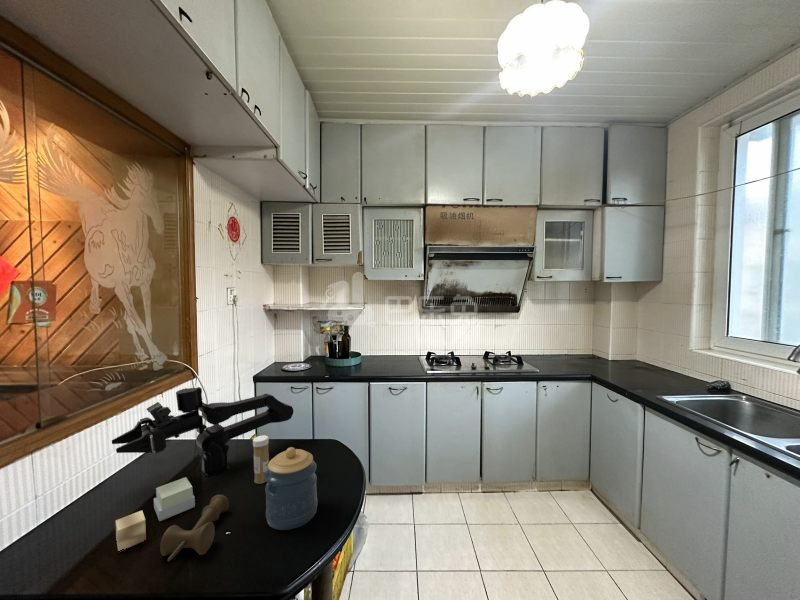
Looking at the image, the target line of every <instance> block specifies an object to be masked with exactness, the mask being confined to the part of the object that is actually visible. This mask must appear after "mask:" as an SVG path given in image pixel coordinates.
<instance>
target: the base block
mask: <svg viewBox="0 0 800 600" xmlns="http://www.w3.org/2000/svg"><path fill="white" fill-rule="evenodd" d="M195 501H196V499H195V495H194V494H193V498H190V499H188V500H185V501H183V502H180V503H178V504H175V505H173V506H170V507H168V508H166V509H163V510H162V509H161V507H160V505H159V503H158V501H157V497H154V498H153V508H154V511H155V513H156V516H157V518H158V521H159V522H161V521H164V520H166V519H169V518H171V517H173V516H177V515H178V514H181V513H183V512H186V511H188V510H190V509H192V508H195V507H196V502H195Z"/></svg>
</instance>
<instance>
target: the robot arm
mask: <svg viewBox="0 0 800 600" xmlns="http://www.w3.org/2000/svg"><path fill="white" fill-rule="evenodd" d="M202 393H203V390H202V387H200V386H197V387H189V388H188V387H187V388H186V387H185V388H182V389H179V390H177V391H176V392H175V394H176V395H175V396H176V404H177V411H179V412H181V413H183V414H179V415H175V416H174V415H172V414H171V412H172V410H171V409H170V407H168V406H163V405H162V404H161V403H160V402H159V401H157V402H155V403H154V404H152V405H150V406H149V407H147V408H146V411H148V413H149V414H150V415H151V417H152V418H153V419H152V418H151V417H148V416H147V417H143V418H140V419H139V420H138V421H137V422H136V424H135V426H134V427H133V428H132V429H130V430H128V431H127V432H125V433H122V434H121V435H119V436H117V437H115V438H114V439H112V440H111V444H112V445H119V444H121V446H118V447H117V448H116V449H115V452H116V453H117V454H125V453H126V454H128V453H130V454H131V453H135V454H137V453H139V454H142V453H143V454H153V453H154V454H158V453H161V452H164V450H165V449H166V447H167V441H166V440H169V439H171V438H175V439H178V438H180V436H181V435H182V434H186V433H189V432H191V431H194V430H195V431H196V432H197V433H198V434H197V436H196V439H195V443H196V445H197V446H198V447H199V448H200V449H201V450H202V451H203V457H202V459H201V466H202V467H201V470H202V472H203V473H204V474H205V475H206V476H207V477H211V476H213V475H217V474H220V473H222V472H224V471H227V470H229V469H230V467H229V465H228V452H229V449H230V446H229V444H227V443H228V442H229V441H230V440H232V439H235V438H237V437H239V436H243V435H244V434H246V433H249V432H252V431H254V430H257V429H259V428H261V427H264V426H266V425H268V424H274V423H282V422H283V423H284V422H287V421H289V420H291V418H292V417H293V414H294V407H293V406H292V405H289V404H287V403H284V402H282V401H280V400H278V399H277V398H276V397H275V396H273V395H272V394H270V393H264V394H262V395H261V394H260V395H258V396H253V397H248V398H245V399H240V400H236V401H232V402H211V403H209V404H207V403H205V402H204V401H203V397H202ZM266 407H267V410H265V411H263V412H261V413H258V414H255V415H252V416H251V417H248V418H245V419H243V420H240V421H237V422H234V423H232V424H230V425H227V426H223V425H221V424H222V423H223V422H226V421H228V420H229V419H231V418H232V417H234V416H236V415H239V414H244V413H246V412H247V413H248V412H251V411H254V410H258V409H262V408H266ZM200 412H201V414H200ZM170 414H171V415H170ZM204 421H206V422H207V423H209V424H211V426H209V427H207V425H206V424H204ZM122 444H123V445H122Z"/></svg>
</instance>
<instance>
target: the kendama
mask: <svg viewBox="0 0 800 600" xmlns="http://www.w3.org/2000/svg"><path fill="white" fill-rule="evenodd" d="M229 507H230V501H229V499H228V497H227V496H225V495H224V494H216V495H214V496H212V497H211V498H210V501H209V504H207V505H206V506H204V507H203V509H202V511H201V517H200V518H199V519H198V521H197V522H196V524H195V525H194V527H193V528H192V529H191V530H186V529H183V528H181V527H180V526H178V525H177V524H173V525H171V526H169V527H168V528H167V529H166V530H165V531H164V533H163V535H162V537H161V540H160V544H159V551H160V554H161V556H163V557H164V556H168V555H169V557H168V558H167V562H170V561H171V560H173V559H174V558H175V557H176V556H177V554H179V553H180V551H181V550H182V549H186V548H187V549H192V550H194V551H195V552H196V553H197V554H198V555H200V556H203V555H205V554H206V553H207V552H208V551H209V549H210V548H211V546H212V544H213V543H214V537H215V534H216V533H215V524H214V522H216V521H218V520H219V517H220V515H221V514H224V513H225V512H227V511H228V509H229Z"/></svg>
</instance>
